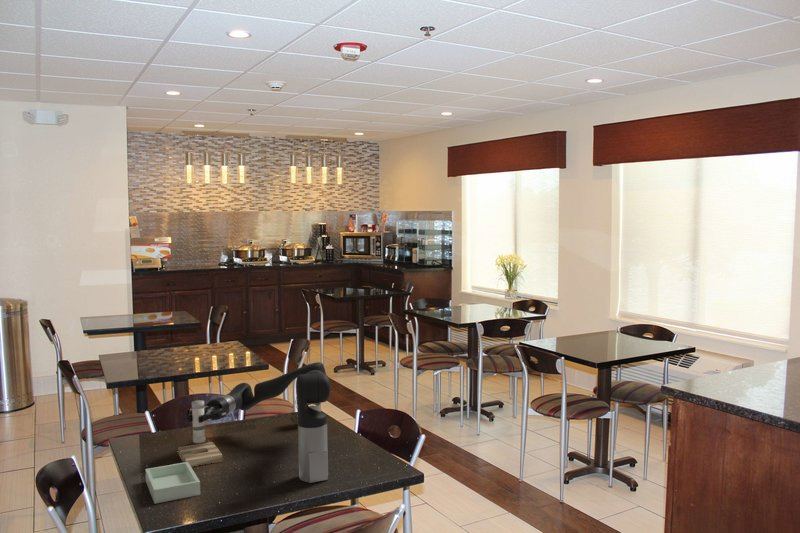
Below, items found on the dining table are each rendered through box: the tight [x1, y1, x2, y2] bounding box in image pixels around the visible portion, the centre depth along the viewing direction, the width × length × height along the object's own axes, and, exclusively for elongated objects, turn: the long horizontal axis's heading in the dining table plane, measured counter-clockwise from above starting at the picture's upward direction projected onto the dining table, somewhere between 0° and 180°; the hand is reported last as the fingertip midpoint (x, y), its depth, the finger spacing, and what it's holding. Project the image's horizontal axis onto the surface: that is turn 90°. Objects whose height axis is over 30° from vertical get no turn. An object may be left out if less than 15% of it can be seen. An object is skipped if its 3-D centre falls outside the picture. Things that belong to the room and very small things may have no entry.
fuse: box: [191, 399, 207, 444], centre depth 227 cm, size 4×4×14 cm
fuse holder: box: [177, 441, 223, 468], centre depth 228 cm, size 16×12×2 cm
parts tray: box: [145, 462, 201, 504], centre depth 201 cm, size 20×13×4 cm, turn 28°
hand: (193, 419), depth 225 cm, fingers closed on fuse, 4 cm apart
